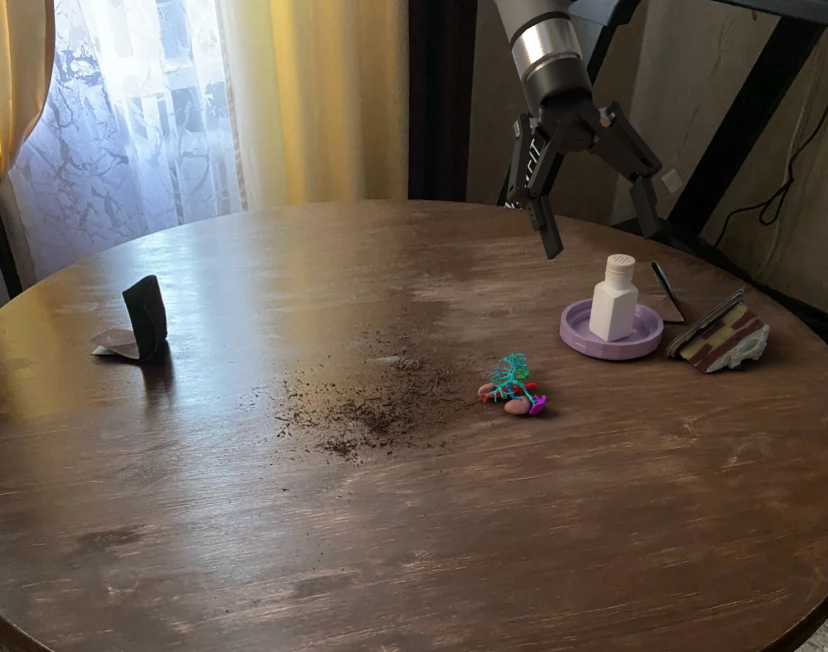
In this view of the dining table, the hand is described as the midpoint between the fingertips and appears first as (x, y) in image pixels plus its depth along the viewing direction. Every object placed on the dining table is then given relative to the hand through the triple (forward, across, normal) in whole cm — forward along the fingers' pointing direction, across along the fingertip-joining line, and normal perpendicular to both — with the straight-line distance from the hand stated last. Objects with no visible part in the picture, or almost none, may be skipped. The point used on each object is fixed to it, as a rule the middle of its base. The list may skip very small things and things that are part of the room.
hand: (605, 245), depth 99 cm
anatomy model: (+16, +19, 0) cm, 24 cm away
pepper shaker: (+10, 0, -5) cm, 11 cm away
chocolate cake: (+17, -9, +2) cm, 19 cm away
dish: (+10, 0, -5) cm, 11 cm away
